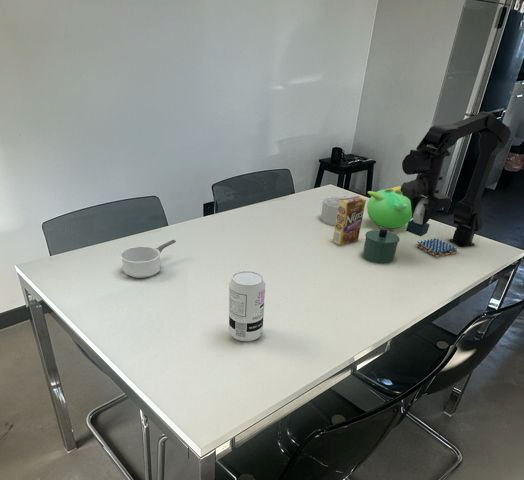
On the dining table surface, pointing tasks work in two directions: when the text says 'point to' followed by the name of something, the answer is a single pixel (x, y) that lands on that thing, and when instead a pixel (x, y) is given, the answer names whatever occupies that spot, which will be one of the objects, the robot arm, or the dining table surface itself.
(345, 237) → the candy box
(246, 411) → the dining table surface
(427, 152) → the robot arm
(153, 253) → the saucepan
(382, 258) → the pot
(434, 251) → the woven mat
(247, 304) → the supplement can
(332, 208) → the lumpy-topped squat cylinder
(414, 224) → the watch
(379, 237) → the pot lid
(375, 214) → the green toy creature
